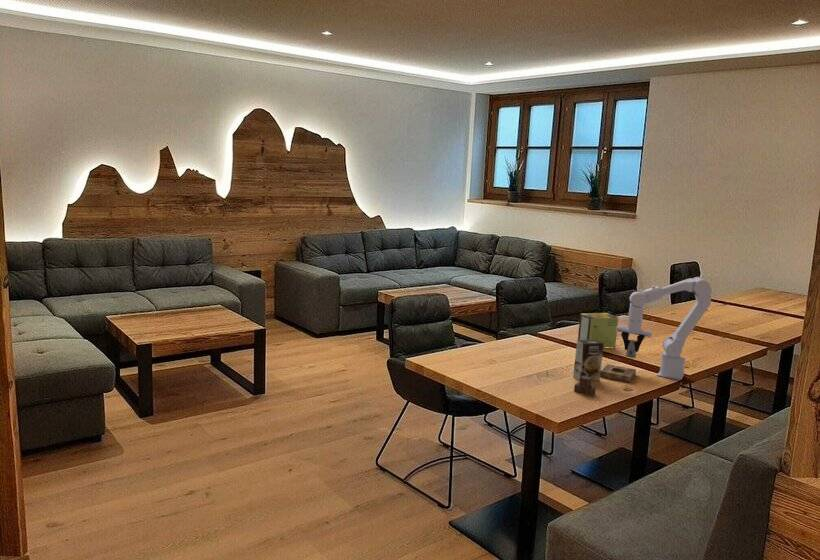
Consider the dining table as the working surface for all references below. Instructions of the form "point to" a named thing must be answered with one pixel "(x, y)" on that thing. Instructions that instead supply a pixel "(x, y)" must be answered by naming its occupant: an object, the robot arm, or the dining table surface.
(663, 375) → the robot arm
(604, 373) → the socket block
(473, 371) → the dining table surface
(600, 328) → the protein box
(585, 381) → the stack of crates
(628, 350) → the pin
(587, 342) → the coffee box
